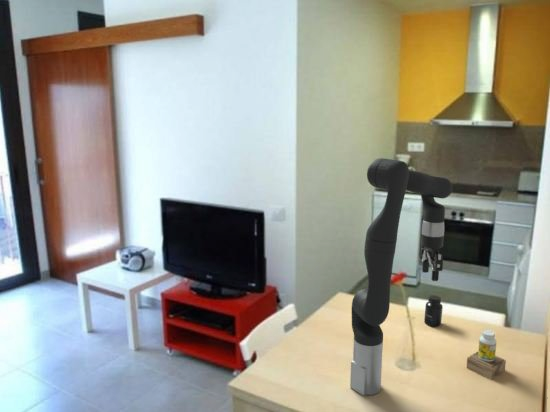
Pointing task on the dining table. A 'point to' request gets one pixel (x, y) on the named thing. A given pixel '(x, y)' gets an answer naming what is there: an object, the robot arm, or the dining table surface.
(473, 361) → the wooden box
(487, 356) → the supplement bottle
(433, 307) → the supplement bottle
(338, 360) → the dining table surface
